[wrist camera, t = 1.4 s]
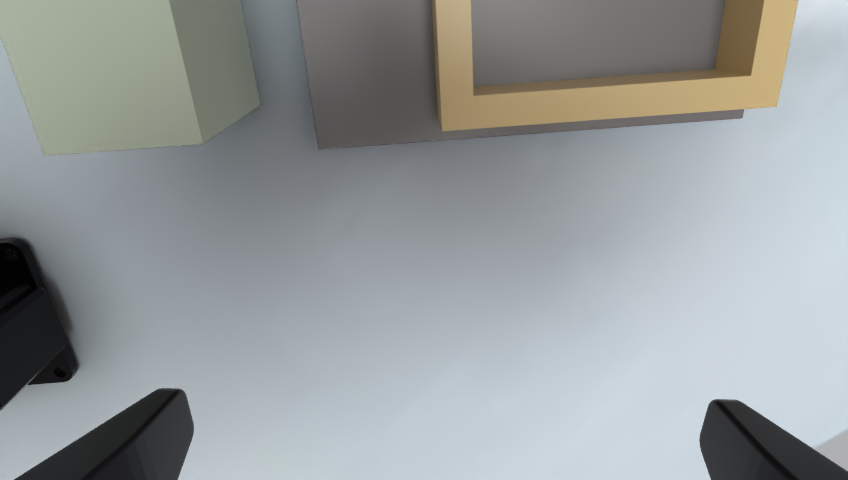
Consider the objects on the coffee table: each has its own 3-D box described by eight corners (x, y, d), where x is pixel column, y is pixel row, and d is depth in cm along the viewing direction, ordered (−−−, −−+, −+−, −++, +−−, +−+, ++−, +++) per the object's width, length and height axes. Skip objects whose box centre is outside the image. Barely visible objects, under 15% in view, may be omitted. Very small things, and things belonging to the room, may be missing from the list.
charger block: (148, 113, 19) (44, 155, 13) (105, -46, 17) (-40, -73, 11) (260, 104, 19) (203, 144, 13) (231, -55, 17) (148, -86, 11)
